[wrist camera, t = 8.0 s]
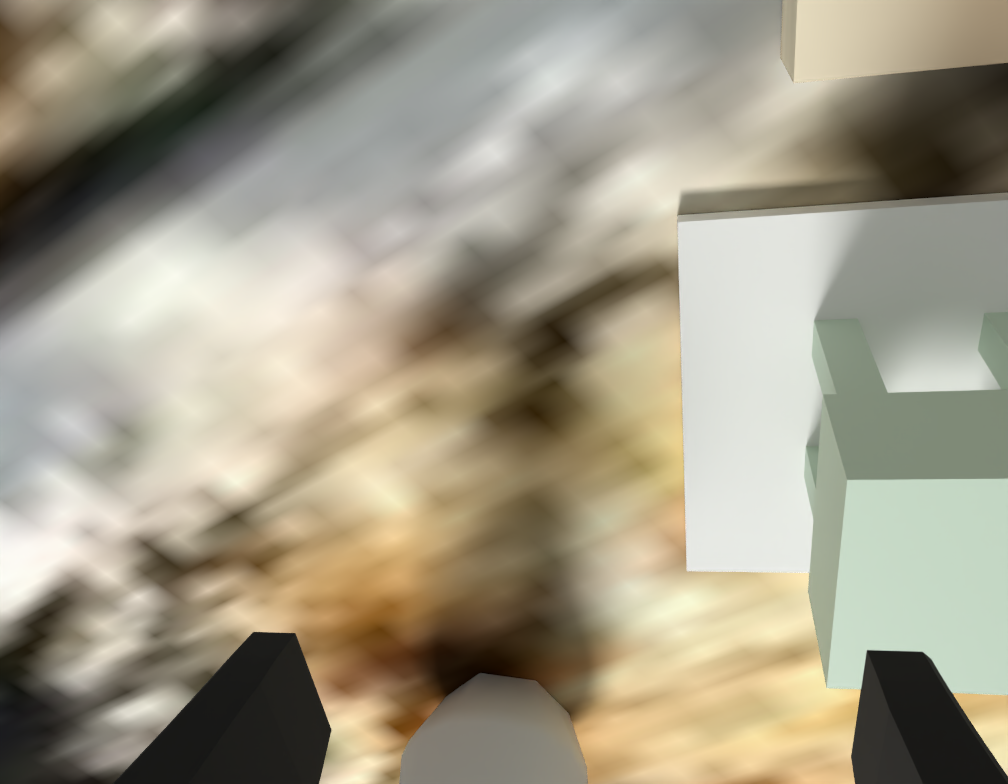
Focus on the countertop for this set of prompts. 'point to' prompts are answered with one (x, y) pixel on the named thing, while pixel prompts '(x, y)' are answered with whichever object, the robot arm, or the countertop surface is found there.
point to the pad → (788, 346)
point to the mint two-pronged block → (909, 516)
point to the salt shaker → (495, 738)
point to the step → (890, 36)
